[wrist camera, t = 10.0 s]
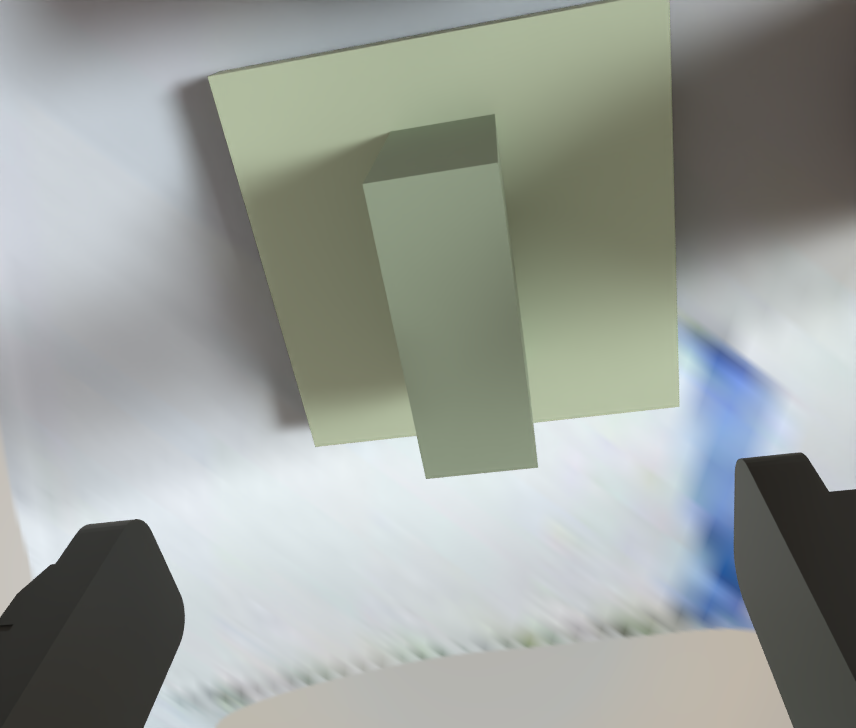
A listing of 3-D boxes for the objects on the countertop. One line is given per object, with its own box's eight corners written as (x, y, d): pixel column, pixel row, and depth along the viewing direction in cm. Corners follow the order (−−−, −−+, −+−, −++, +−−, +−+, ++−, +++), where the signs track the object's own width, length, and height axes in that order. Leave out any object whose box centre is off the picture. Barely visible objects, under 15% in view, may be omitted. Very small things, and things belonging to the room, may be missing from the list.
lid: (231, 66, 20) (121, 113, 14) (651, -12, 19) (733, 2, 13) (327, 412, 25) (276, 559, 19) (664, 373, 24) (728, 518, 18)
